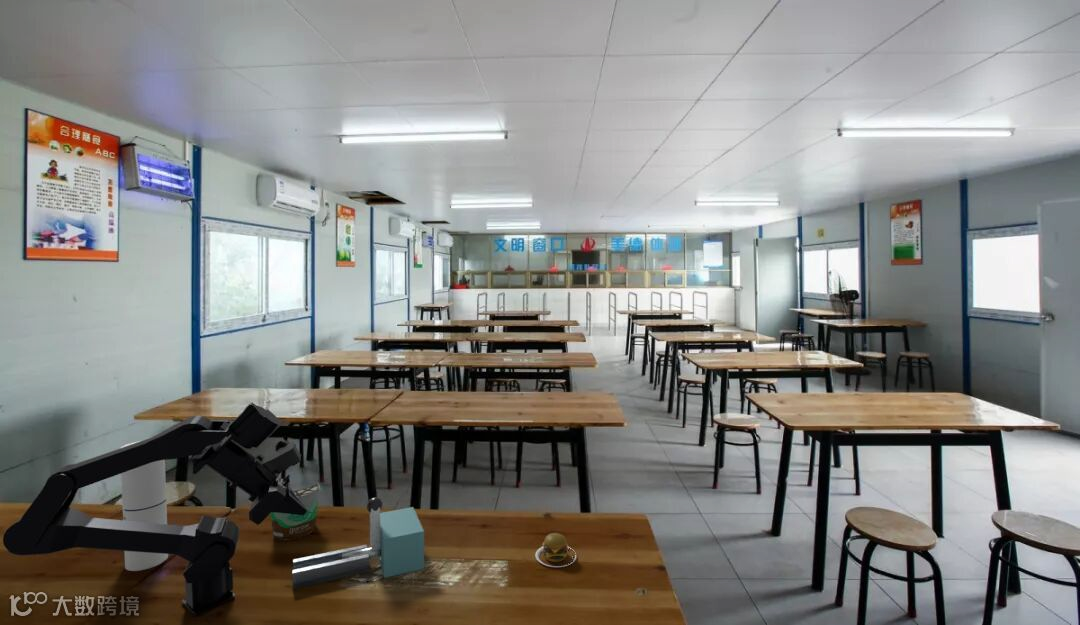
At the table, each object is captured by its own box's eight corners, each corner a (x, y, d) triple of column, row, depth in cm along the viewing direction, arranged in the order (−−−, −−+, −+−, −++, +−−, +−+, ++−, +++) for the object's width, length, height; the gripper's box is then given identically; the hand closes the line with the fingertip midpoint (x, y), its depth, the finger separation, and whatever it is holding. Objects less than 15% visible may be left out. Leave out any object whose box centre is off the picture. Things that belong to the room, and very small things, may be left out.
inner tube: (342, 568, 99) (341, 506, 99) (341, 560, 102) (340, 500, 101) (403, 555, 104) (402, 496, 104) (400, 547, 107) (400, 490, 107)
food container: (279, 549, 109) (278, 505, 108) (267, 540, 113) (265, 497, 112) (332, 527, 119) (331, 487, 118) (318, 520, 122) (318, 480, 122)
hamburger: (578, 580, 99) (578, 554, 99) (521, 571, 102) (521, 545, 102) (587, 549, 111) (588, 526, 111) (536, 541, 114) (536, 518, 114)
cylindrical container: (144, 572, 100) (139, 452, 98) (115, 568, 101) (110, 449, 100) (176, 554, 107) (172, 440, 105) (149, 550, 108) (145, 438, 107)
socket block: (384, 578, 99) (383, 539, 98) (376, 548, 109) (376, 513, 109) (424, 568, 102) (424, 531, 101) (413, 540, 113) (413, 507, 112)
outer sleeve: (292, 589, 95) (292, 573, 95) (293, 574, 99) (293, 559, 99) (369, 571, 101) (369, 556, 100) (366, 558, 105) (366, 544, 105)
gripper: (268, 447, 86) (338, 498, 91) (276, 420, 103) (334, 464, 108) (216, 499, 83) (291, 548, 88) (232, 462, 100) (294, 505, 105)
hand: (305, 512), depth 97 cm, fingers closed
